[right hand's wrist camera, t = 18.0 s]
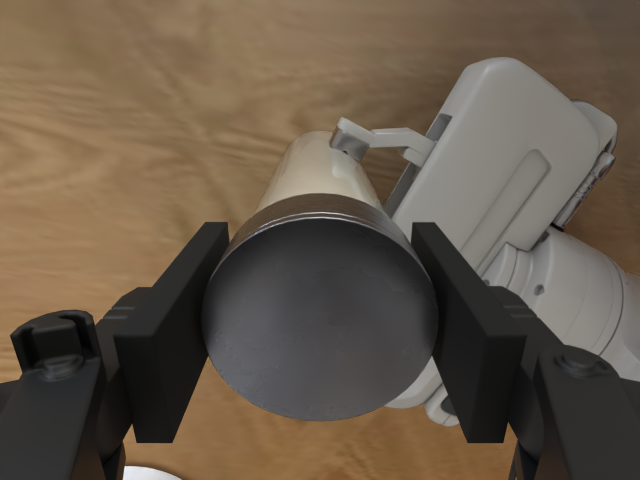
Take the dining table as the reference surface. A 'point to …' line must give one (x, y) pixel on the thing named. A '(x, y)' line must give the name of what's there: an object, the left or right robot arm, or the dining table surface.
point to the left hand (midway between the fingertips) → (305, 189)
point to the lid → (320, 309)
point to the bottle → (318, 173)
